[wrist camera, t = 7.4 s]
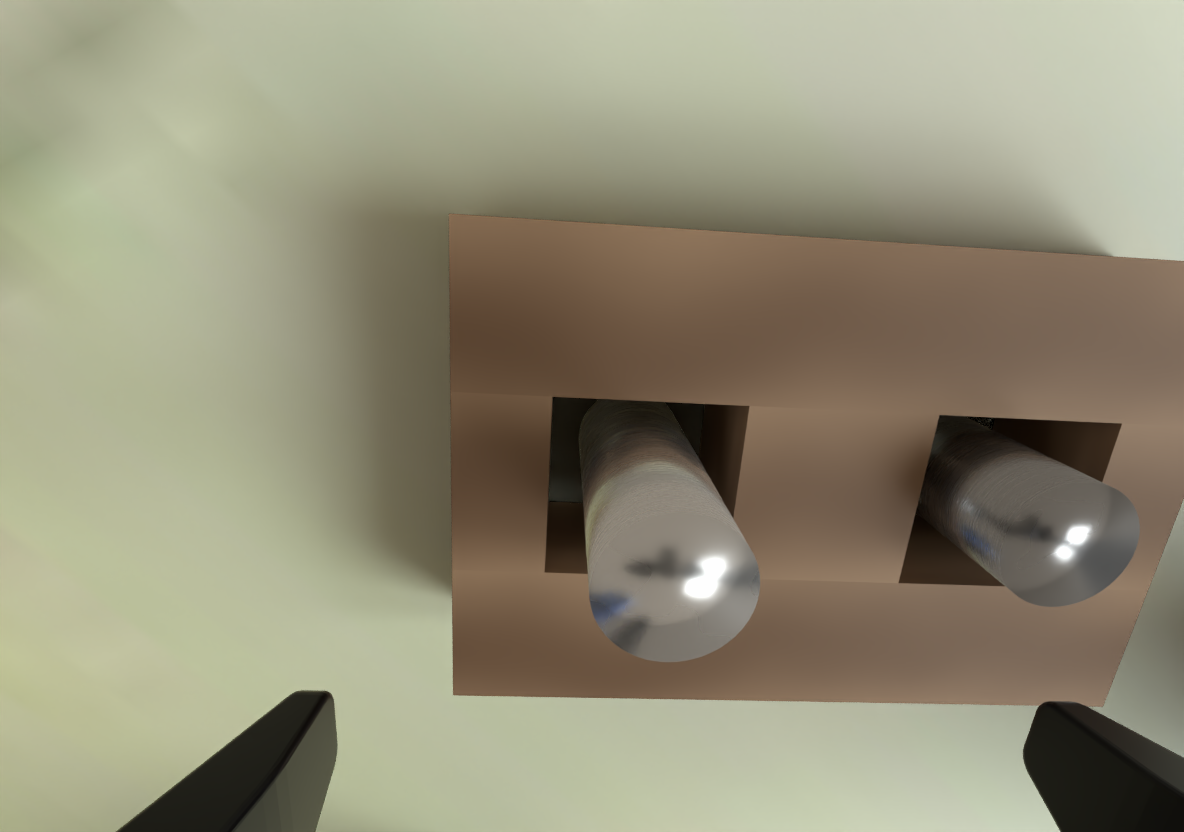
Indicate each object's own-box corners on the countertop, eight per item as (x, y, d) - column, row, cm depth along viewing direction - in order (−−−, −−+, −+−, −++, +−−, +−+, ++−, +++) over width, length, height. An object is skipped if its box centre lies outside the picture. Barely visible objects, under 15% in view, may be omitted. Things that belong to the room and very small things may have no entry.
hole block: (476, 216, 16) (448, 213, 12) (1116, 257, 17) (1273, 266, 13) (474, 603, 20) (453, 695, 16) (1004, 617, 21) (1102, 706, 17)
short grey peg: (974, 404, 18) (1159, 485, 13) (950, 494, 19) (1114, 608, 14) (878, 399, 18) (1022, 480, 12) (859, 491, 19) (984, 604, 13)
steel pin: (683, 391, 18) (772, 516, 10) (672, 484, 19) (747, 663, 11) (581, 386, 18) (595, 509, 10) (576, 480, 19) (584, 660, 11)
